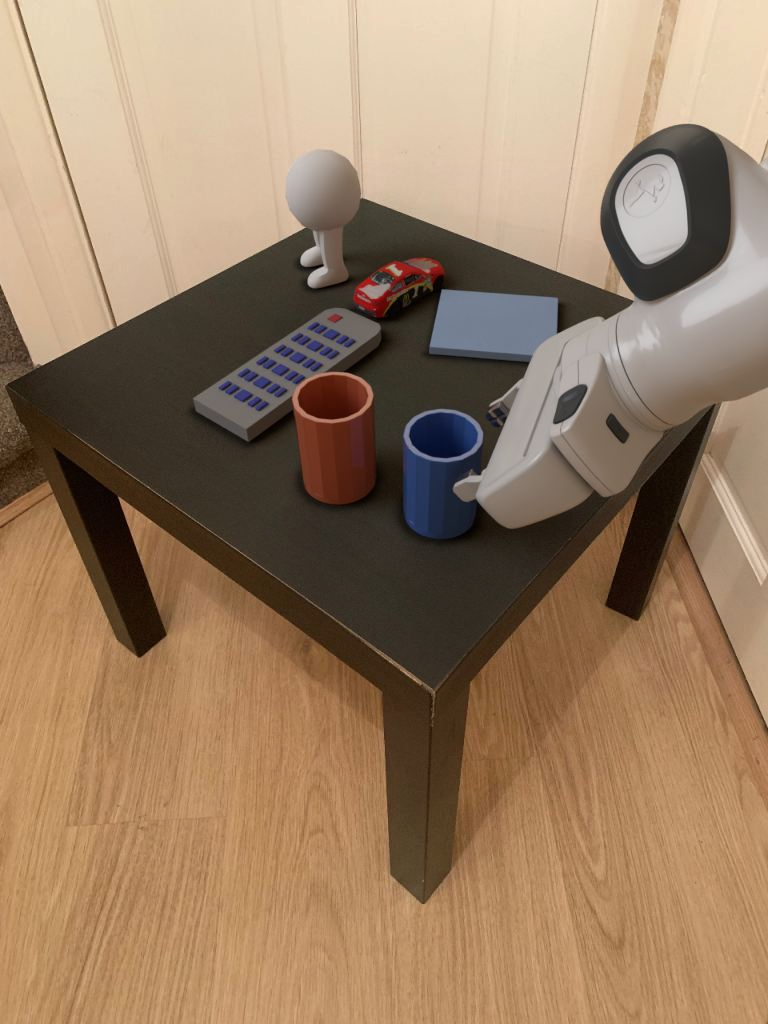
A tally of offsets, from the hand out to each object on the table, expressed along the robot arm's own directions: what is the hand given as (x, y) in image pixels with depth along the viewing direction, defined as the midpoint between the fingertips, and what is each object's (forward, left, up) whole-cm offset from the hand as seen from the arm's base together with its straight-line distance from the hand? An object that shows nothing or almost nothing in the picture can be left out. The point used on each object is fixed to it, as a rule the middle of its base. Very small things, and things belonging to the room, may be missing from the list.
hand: (476, 451), depth 66 cm
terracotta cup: (+13, -3, -8) cm, 16 cm away
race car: (+12, -35, -8) cm, 38 cm away
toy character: (+22, -40, -8) cm, 46 cm away
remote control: (+21, -18, -8) cm, 29 cm away
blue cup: (+3, 0, -8) cm, 9 cm away
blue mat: (0, -30, -8) cm, 31 cm away
